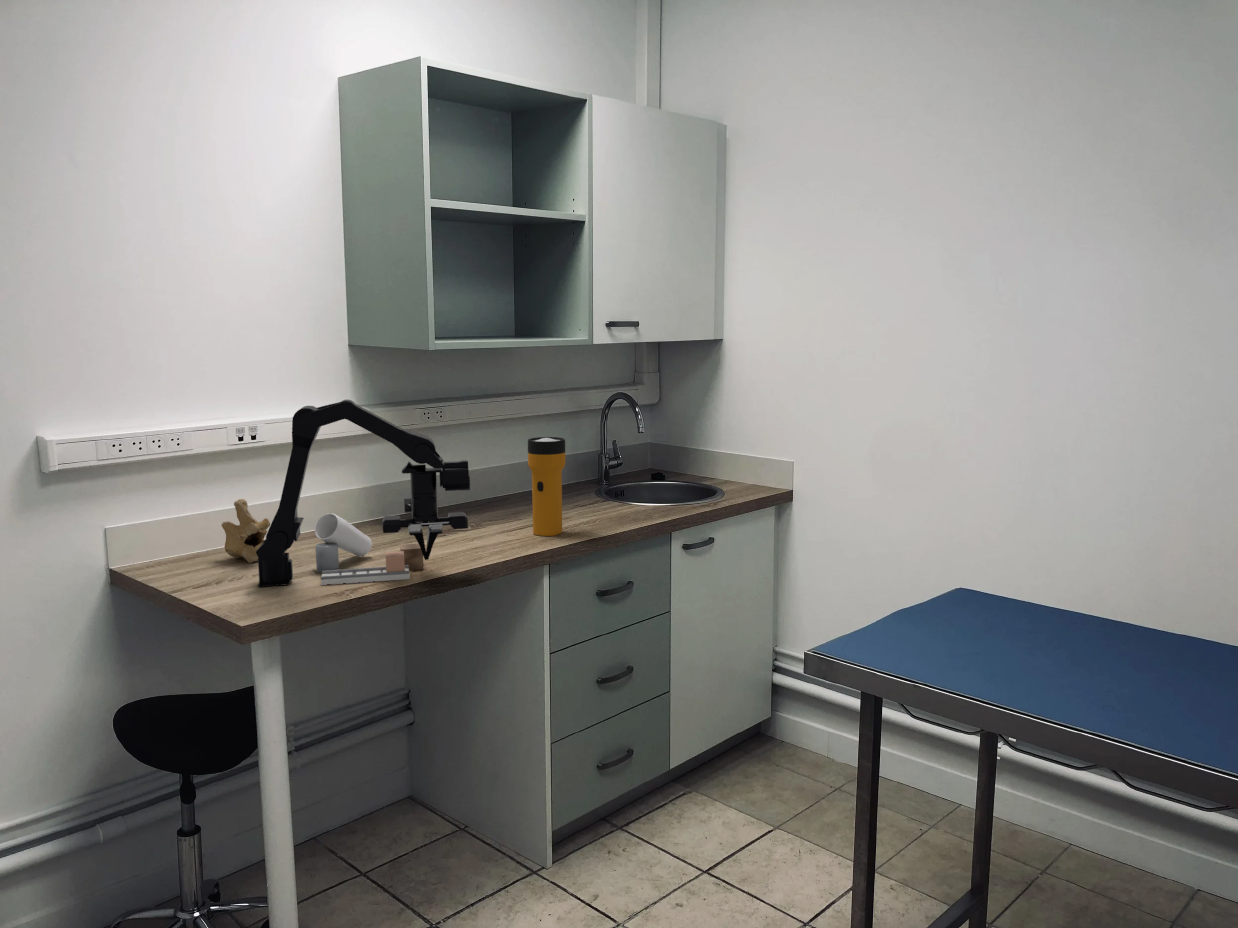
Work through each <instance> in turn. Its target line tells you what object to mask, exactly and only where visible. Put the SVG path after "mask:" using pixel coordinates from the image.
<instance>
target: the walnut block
mask: <svg viewBox="0 0 1238 928" xmlns="http://www.w3.org/2000/svg"><path fill="white" fill-rule="evenodd" d="M399 546H400V548H399V549H400V550H399V551H404V565H409V571H411V570H410V569H414V570H424V567H425V566H424V556H423V554H422V551H421V548H420V546H419V543H404V544H403V543H402V544H400V545H399Z"/></svg>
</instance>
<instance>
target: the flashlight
mask: <svg viewBox="0 0 1238 928" xmlns="http://www.w3.org/2000/svg"><path fill="white" fill-rule="evenodd" d="M527 463H528V464H527V466H528V467H529V470H530V471H531V489H532V490H531V492H532V493H531V494H532V495H531V496H532V497H531V498H532V502H531V503H532V533H533V535H535V536H542V537H554V536H558V535H560V534H562V532H563V485H562V483H563V481H562V480H563V479H562V475H563V473H562V471H563V470H564V468H565V466H566V438H563V437H559V436H558V437H557V436H556V437H555V436H540V437H531V438H528V439H527Z"/></svg>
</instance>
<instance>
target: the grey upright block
mask: <svg viewBox="0 0 1238 928" xmlns="http://www.w3.org/2000/svg"><path fill="white" fill-rule="evenodd" d="M315 563H316V564H315V565H316V573H319V574H320V573H321V574H322V571H327V570H340V559H339V548H338V544H337V543H326V542H320V543H317V544H315Z"/></svg>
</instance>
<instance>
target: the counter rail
mask: <svg viewBox="0 0 1238 928" xmlns="http://www.w3.org/2000/svg"><path fill="white" fill-rule="evenodd" d="M410 574H411V573H410V570H409V565H405V571H396V572H386V566H377V567H373V566H372V567H361V568H360V567H359V568H345V569H344V568H343V569H339V570H327V571H322V573H321V576H320V585H321V586H327V584H331V585H344V584H343V583H346V584H356V583H357V584H359V582H360V583H371V582H373V581H375V582H385V581H399V580H400V581H402V580H410V579H411V576H410ZM373 583H374V582H373Z"/></svg>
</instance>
